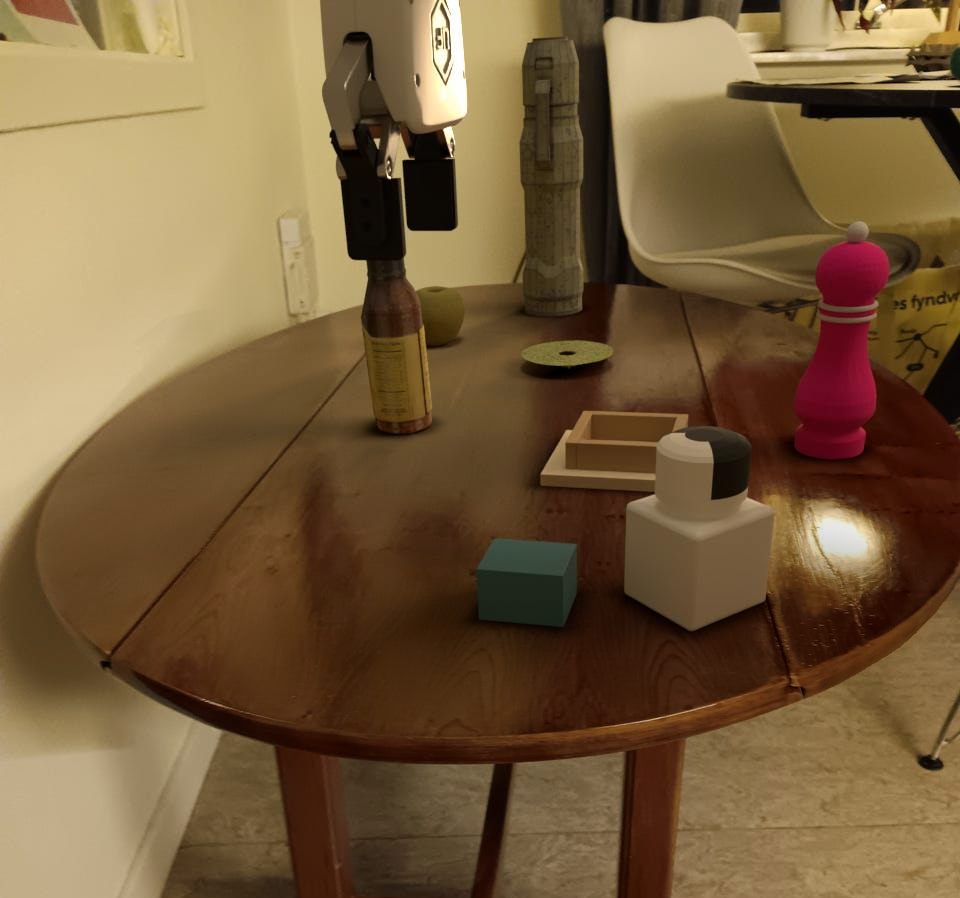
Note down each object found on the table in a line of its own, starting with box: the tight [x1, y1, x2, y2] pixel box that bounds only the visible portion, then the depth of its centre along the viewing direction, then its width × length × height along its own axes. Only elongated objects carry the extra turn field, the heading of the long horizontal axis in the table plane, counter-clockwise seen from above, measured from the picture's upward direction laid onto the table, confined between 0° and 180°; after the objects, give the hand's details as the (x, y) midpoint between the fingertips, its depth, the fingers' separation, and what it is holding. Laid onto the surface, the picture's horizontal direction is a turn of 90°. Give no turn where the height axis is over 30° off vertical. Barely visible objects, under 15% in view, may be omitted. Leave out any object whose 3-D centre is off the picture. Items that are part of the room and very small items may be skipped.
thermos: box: [518, 36, 584, 317], centre depth 139 cm, size 9×12×35 cm
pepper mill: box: [792, 220, 890, 460], centre depth 88 cm, size 7×7×20 cm
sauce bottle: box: [360, 257, 433, 435], centre depth 100 cm, size 6×6×20 cm
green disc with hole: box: [520, 339, 615, 370], centre depth 121 cm, size 11×11×2 cm
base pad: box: [539, 410, 689, 493], centre depth 91 cm, size 14×12×4 cm
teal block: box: [475, 538, 578, 628], centre depth 69 cm, size 6×5×4 cm
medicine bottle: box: [623, 425, 776, 632], centre depth 67 cm, size 7×7×12 cm
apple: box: [415, 285, 465, 347], centre depth 133 cm, size 8×8×7 cm
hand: (407, 243), depth 58 cm, fingers open, 9 cm apart
